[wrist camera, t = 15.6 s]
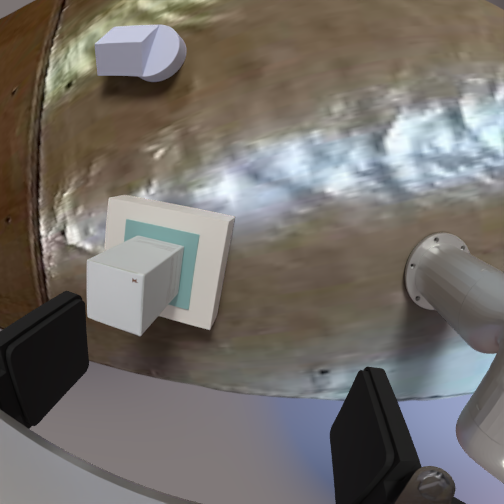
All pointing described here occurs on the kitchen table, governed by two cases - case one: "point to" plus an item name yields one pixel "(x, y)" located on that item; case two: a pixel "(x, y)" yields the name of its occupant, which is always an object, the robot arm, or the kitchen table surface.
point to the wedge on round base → (140, 52)
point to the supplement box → (133, 283)
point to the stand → (194, 255)
